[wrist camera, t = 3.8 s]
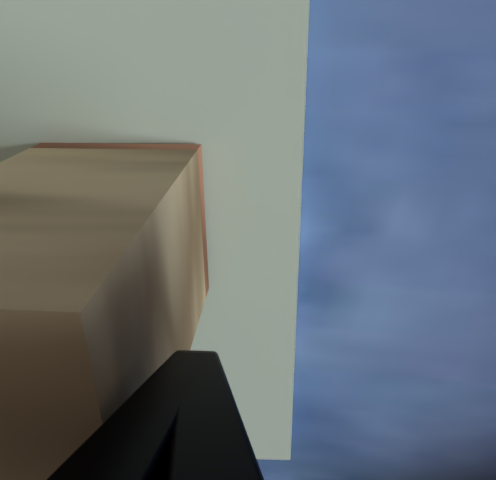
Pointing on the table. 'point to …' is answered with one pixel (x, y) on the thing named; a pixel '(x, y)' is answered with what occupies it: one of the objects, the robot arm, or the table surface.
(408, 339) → the table surface
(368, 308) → the table surface
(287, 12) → the sage mat
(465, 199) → the table surface
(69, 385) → the maple block
